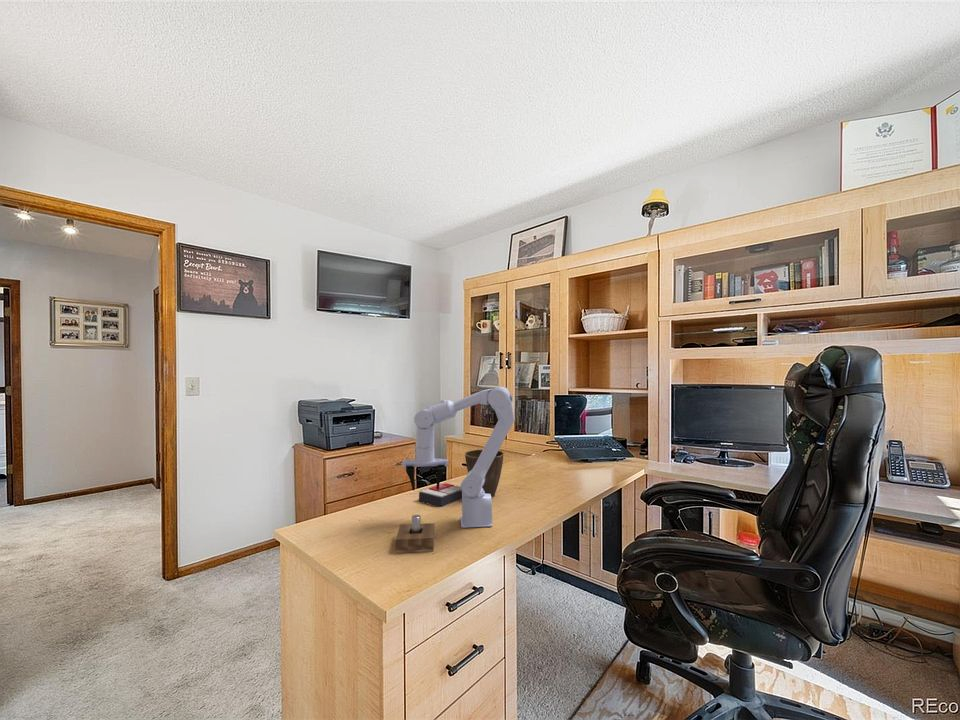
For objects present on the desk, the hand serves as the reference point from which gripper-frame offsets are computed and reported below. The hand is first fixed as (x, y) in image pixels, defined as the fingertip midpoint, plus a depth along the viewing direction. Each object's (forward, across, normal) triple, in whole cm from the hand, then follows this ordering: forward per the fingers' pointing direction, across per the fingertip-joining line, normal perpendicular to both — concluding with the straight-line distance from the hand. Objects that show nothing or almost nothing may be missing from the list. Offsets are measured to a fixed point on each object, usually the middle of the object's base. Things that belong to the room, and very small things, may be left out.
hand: (425, 488), depth 127 cm
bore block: (+10, +2, +17) cm, 20 cm away
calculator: (+10, -6, -20) cm, 23 cm away
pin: (+9, +2, +17) cm, 19 cm away
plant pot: (+10, -22, -22) cm, 32 cm away
